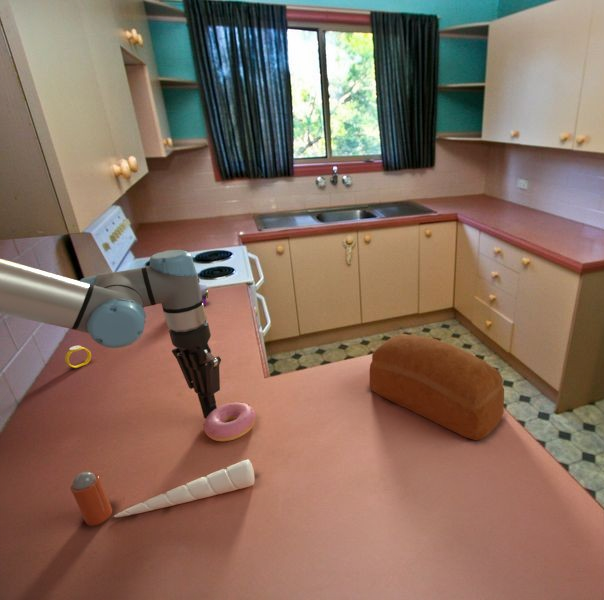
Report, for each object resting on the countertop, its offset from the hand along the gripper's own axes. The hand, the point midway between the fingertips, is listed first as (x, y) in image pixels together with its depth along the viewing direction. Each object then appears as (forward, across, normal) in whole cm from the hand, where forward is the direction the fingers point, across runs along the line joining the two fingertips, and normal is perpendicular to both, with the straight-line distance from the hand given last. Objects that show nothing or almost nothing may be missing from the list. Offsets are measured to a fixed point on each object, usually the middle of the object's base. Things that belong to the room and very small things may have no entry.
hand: (211, 415), depth 98 cm
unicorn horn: (+2, -15, +17) cm, 23 cm away
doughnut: (+2, -6, 0) cm, 7 cm away
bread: (+2, -43, -29) cm, 52 cm away
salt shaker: (+1, -3, +27) cm, 27 cm away
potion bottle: (+2, +60, -44) cm, 74 cm away
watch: (+2, +55, 0) cm, 55 cm away
